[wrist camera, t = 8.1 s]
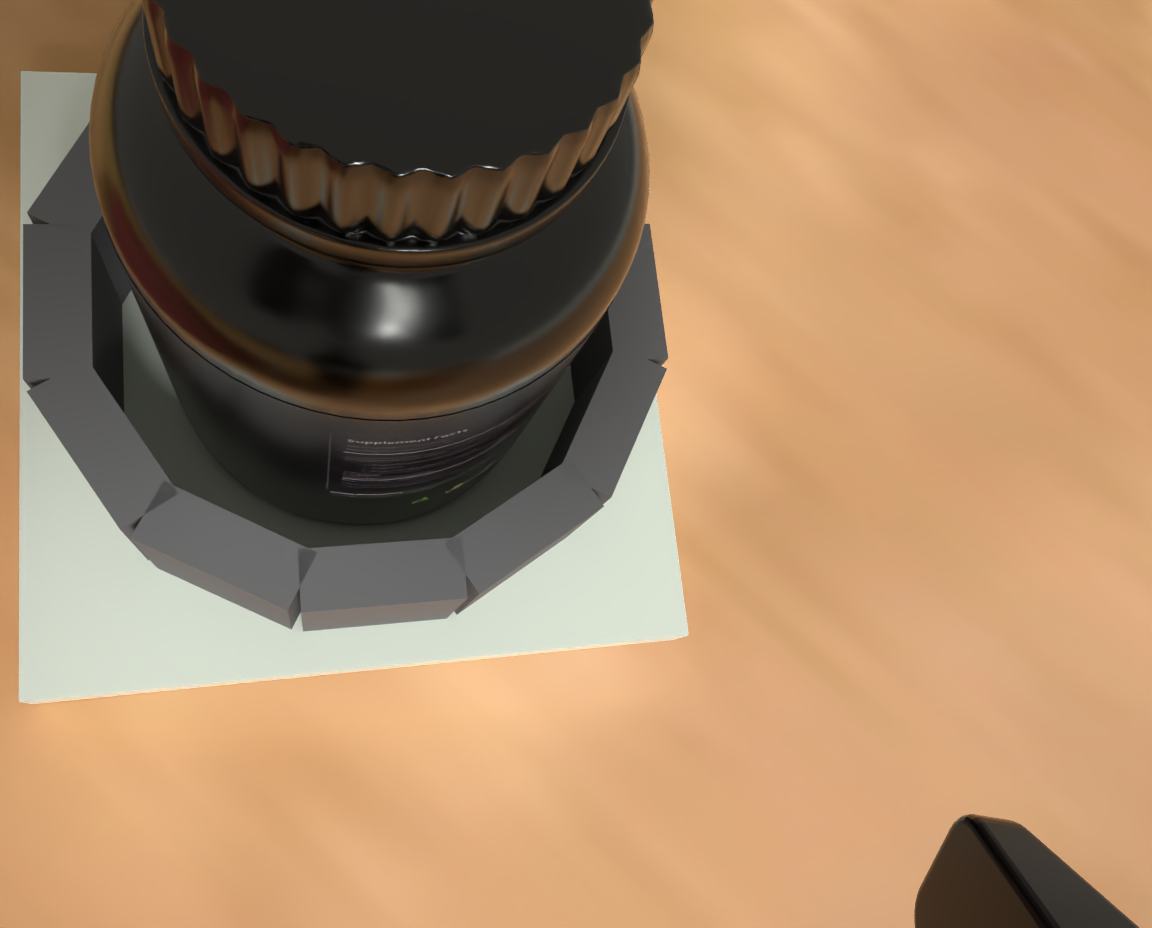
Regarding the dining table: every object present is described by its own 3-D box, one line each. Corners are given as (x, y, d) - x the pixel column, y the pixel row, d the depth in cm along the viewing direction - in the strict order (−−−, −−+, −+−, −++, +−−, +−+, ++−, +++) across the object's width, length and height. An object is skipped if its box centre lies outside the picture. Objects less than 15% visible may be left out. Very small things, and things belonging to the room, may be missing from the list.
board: (33, 704, 19) (18, 702, 18) (33, 99, 22) (20, 70, 21) (673, 639, 22) (688, 634, 21) (604, 114, 25) (615, 89, 24)
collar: (66, 652, 19) (21, 636, 16) (63, 106, 21) (23, 7, 18) (647, 600, 21) (697, 578, 18) (586, 119, 24) (623, 34, 21)
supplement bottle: (108, 283, 20) (-153, -293, 9) (427, 153, 23) (541, -443, 11) (281, 602, 20) (234, 412, 8) (594, 437, 22) (893, 106, 11)
